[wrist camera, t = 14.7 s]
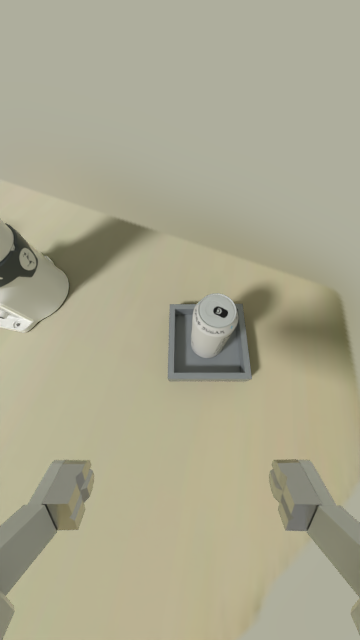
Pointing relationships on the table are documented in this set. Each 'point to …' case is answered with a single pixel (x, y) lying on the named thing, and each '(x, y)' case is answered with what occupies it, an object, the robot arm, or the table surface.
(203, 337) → the energy drink can
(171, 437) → the table surface
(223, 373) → the gray tray
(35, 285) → the robot arm
